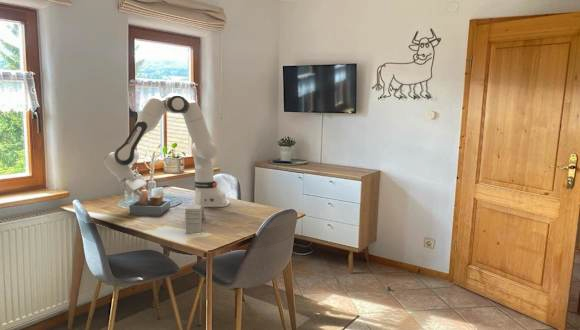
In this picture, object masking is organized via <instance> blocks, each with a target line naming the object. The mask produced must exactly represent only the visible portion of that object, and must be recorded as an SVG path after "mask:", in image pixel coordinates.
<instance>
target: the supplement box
mask: <svg viewBox="0 0 580 330" xmlns="http://www.w3.org/2000/svg"><path fill="white" fill-rule="evenodd" d="M184 209H185V210H184V211H185V213H184V214H185V215H184V217H185V219H184V220H185V221H184V222H185V223H184V224H185V225H184V227H185V234H186V233H200V234H201V232H202V229H203V227H202V226H203V224H202V223H203V221H202V220H203V219H202V205H194V204H187V205H186V207H185V208H184Z"/></svg>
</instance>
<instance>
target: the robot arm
mask: <svg viewBox="0 0 580 330" xmlns="http://www.w3.org/2000/svg"><path fill="white" fill-rule="evenodd" d="M166 112H169V113H172V114H181V115H182V117H183V120H184V122H185V126H186V129H187V131H188V134H189V136H190V138H191V140H192V142H193V143H192V144H191V150H192V157H193V163H194V170H195V171H194V175H195V176H194V186H193V188H194V197H193V201H192V205H195V204H201V205H203V206H204V208H208V207H209V208H224V207H227V206H229V205H230V204H231V203H230V200H229V199H227V197H226V196H227V195H226V192H224V191H223V190H221V189H220V188H219V187H217V186H218V181H216V180H214V166H213V161H212V160H213V159H215V158H216V157H217V156H218V155H217V154H218V148H217V146H216V144H215V143H214V140H213V137H212V136H211V134H210V131H209V129H208V127H207V124H206V119H205V118H204V114H203V112H202V109H201V108H200V106H199V104H198V102H197V101H195V100H187V99H186V98H185V97H184V96H183V95H181V94H178V93H168V94H166V95H165V96H162V97H159V96H152V97H150V99H149V100H148V101H147V102H146V103H145V105H144V106H143V107H142V110H141V112H140V113H139V115H138V117H137V120H136V122H135V124H134V126H133V129H132V130H131V132H130V133H129V135H128V136H127V138H126V140H125V142H124V143H122V144H121V146H119V147H118V148H117V149H116V150H115V151H113V152H112V151H111V152H109V153H108V154H107V155H106V156H105V158H104V159H103V164H104V166H105V167H106V169H107V170H109V172H110V173H111V174H112V175H114V176H115V177H116V179H117V180H118V181H119V182H120V184H121V187H122V189H123V190H124V191H125V192H126V193H127V194H128V195H132V194H133V193H134V194H135V195H137V196H138V197H139V196H140V197H142V196H143V195H144V194H143V193H141V192H139V190H143V189H145V190H147V189H146V186H147V185H148V183H147V181H146V180H145V178H144V177H143V176H142V175H140V173H139V171H137V170H135V169H134V170H133V169H131V168H130V166H132V165H133V164H136V162H138V160H139V158H140V157H139V156H140V154H139V152H138V150H137V149H136V148H137V146H138V145H139V143H140V141H141V140H142V138H143V137H144V136H145V135H146V134H147V133H149V132H151V131H153V130H154V129H155V128H156V127H157V126H158V124H159V123H160V121H161V119H162V116H163V115H165V113H166Z"/></svg>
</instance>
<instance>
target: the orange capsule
mask: <svg viewBox="0 0 580 330" xmlns="http://www.w3.org/2000/svg"><path fill="white" fill-rule="evenodd" d="M139 192H141V193H143V194H144V195H143V196H142V197H140V196H139V195H138V200H139V205H148V200H149V190H148V189H146V190H145V189H143V190H141V189H139Z"/></svg>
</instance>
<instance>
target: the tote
mask: <svg viewBox="0 0 580 330" xmlns="http://www.w3.org/2000/svg"><path fill="white" fill-rule="evenodd" d="M170 209H171V201H170V200H162V206H160V207H159V206H150V199H148V205H139V199H138V200H136V201H135V202H133V203H132V204H130V205H129V215H134V216H135V215H136V216H155V217H156V216H157V217H162V216H163V215H165V214H166V213H167V212H168V211H170Z"/></svg>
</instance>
